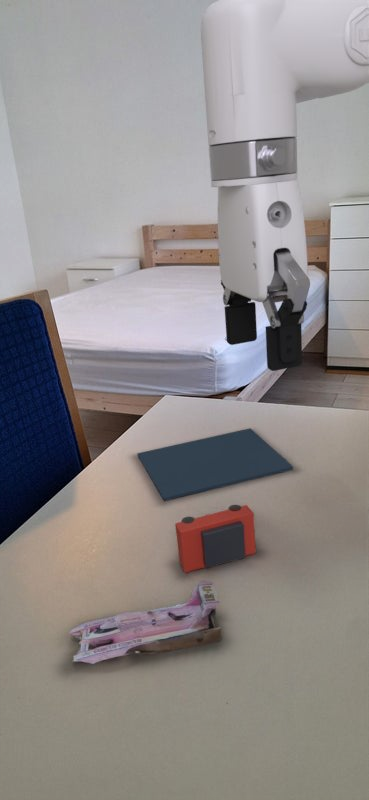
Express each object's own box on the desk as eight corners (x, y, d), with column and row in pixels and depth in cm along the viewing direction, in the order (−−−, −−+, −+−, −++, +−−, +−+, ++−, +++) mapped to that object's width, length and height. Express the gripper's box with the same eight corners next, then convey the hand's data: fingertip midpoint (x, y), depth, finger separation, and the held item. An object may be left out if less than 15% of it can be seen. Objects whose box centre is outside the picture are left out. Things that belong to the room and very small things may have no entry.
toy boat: (70, 678, 50) (62, 640, 48) (73, 630, 55) (66, 594, 53) (225, 651, 51) (222, 613, 49) (214, 607, 56) (211, 571, 55)
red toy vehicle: (247, 541, 65) (244, 501, 64) (259, 557, 63) (257, 516, 61) (177, 560, 63) (173, 520, 62) (187, 577, 61) (182, 536, 59)
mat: (250, 431, 92) (250, 428, 92) (293, 469, 80) (292, 466, 79) (137, 456, 88) (137, 453, 87) (163, 501, 75) (163, 497, 75)
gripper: (345, 157, 45) (344, 371, 51) (252, 165, 61) (259, 329, 67) (254, 166, 43) (264, 388, 49) (182, 172, 59) (196, 340, 65)
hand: (261, 353), depth 58 cm, fingers open, 9 cm apart
